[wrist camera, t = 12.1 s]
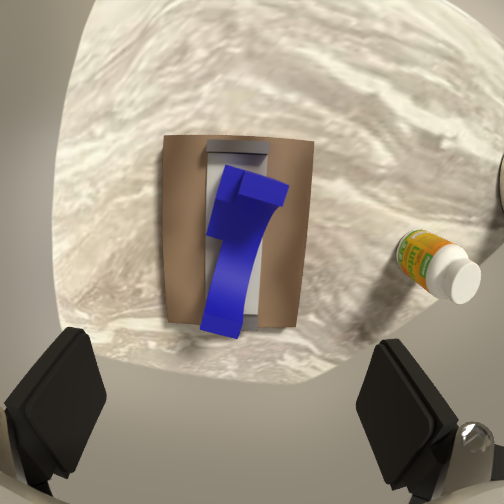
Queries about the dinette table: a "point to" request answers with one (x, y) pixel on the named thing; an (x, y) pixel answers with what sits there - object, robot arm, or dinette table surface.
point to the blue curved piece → (237, 243)
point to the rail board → (207, 248)
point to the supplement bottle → (438, 266)
